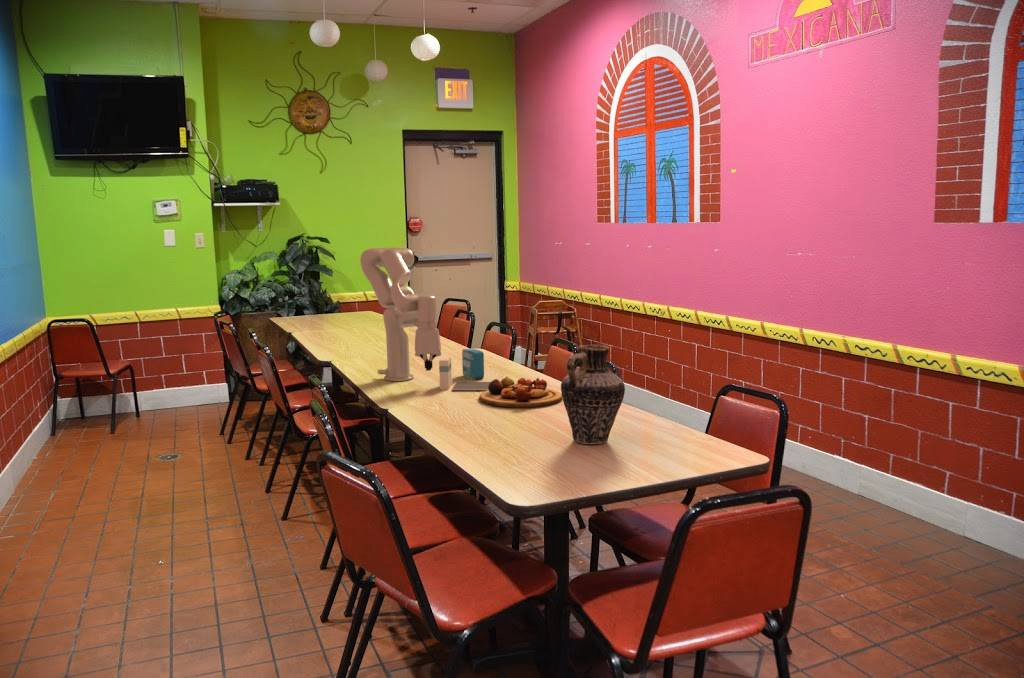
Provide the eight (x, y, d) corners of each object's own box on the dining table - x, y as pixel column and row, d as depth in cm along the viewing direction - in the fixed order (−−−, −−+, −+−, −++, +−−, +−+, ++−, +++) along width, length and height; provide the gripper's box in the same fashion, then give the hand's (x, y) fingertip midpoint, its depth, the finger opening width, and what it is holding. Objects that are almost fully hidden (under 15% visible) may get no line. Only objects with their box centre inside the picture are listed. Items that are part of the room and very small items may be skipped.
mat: (451, 391, 325) (451, 389, 324) (456, 383, 340) (456, 381, 340) (498, 391, 323) (498, 389, 323) (501, 383, 339) (501, 381, 339)
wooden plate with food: (555, 411, 291) (555, 388, 290) (469, 406, 298) (469, 384, 297) (568, 394, 322) (568, 373, 321) (490, 390, 329) (490, 370, 328)
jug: (584, 429, 264) (584, 339, 260) (636, 439, 252) (637, 344, 247) (546, 444, 248) (545, 347, 244) (599, 455, 236) (600, 353, 232)
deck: (439, 389, 328) (438, 360, 327) (443, 384, 337) (442, 356, 336) (448, 389, 328) (448, 360, 326) (451, 384, 337) (451, 356, 335)
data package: (462, 375, 357) (461, 348, 355) (471, 374, 359) (471, 347, 357) (475, 380, 347) (474, 352, 345) (484, 378, 349) (483, 351, 347)
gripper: (407, 327, 326) (408, 371, 329) (444, 327, 325) (445, 371, 328) (410, 324, 334) (412, 368, 336) (446, 324, 332) (448, 368, 335)
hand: (428, 370), depth 332 cm, fingers closed
